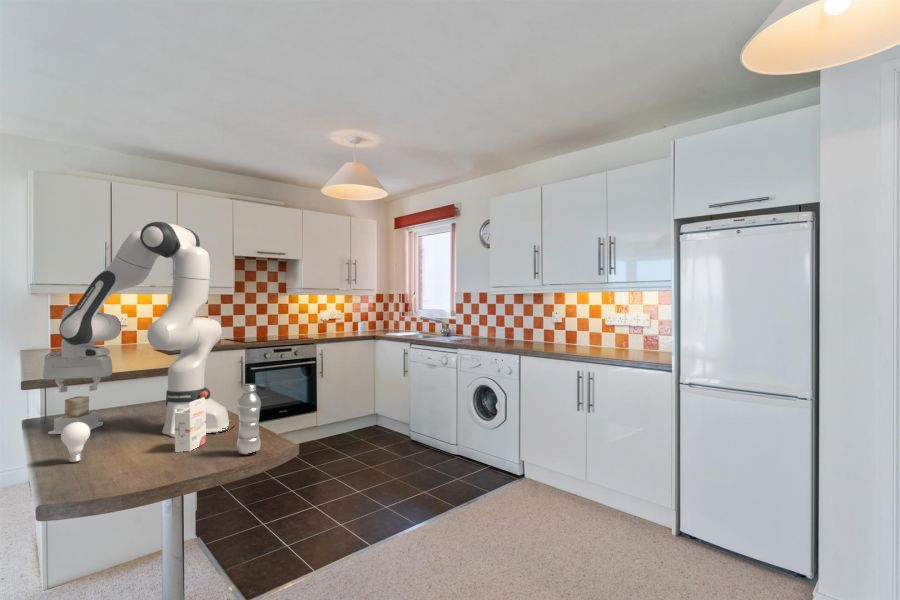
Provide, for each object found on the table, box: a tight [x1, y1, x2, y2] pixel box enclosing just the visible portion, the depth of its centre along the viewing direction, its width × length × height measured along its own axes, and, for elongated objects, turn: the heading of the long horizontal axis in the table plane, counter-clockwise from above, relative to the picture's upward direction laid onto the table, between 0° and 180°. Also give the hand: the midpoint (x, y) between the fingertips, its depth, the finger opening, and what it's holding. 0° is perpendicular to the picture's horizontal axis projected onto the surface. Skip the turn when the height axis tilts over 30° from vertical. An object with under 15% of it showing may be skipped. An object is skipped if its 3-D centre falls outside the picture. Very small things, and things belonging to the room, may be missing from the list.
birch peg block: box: [64, 395, 90, 418], centre depth 159 cm, size 4×6×10 cm, turn 8°
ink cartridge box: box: [174, 397, 207, 453], centre depth 138 cm, size 9×5×15 cm, turn 179°
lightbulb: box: [60, 422, 91, 464], centre depth 126 cm, size 6×6×11 cm
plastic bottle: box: [236, 383, 262, 455], centre depth 133 cm, size 6×7×20 cm
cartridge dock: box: [47, 411, 104, 435], centre depth 159 cm, size 10×12×5 cm
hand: (78, 391), depth 159 cm, fingers open, 8 cm apart
